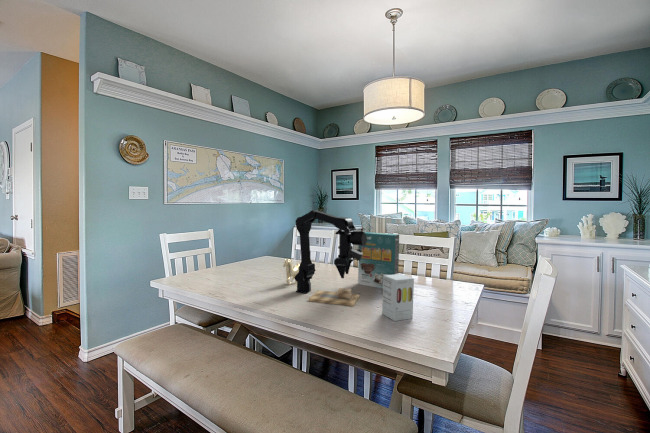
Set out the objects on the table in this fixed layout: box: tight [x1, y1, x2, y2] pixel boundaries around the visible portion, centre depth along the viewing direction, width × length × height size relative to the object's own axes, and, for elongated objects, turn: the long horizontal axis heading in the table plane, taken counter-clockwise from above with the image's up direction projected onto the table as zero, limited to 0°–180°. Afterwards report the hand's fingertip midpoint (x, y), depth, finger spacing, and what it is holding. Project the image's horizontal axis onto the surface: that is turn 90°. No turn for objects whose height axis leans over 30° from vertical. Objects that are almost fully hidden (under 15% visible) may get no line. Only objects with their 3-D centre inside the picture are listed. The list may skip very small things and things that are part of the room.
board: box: [307, 290, 360, 307], centre depth 151 cm, size 22×14×1 cm, turn 73°
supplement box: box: [381, 273, 415, 322], centre depth 129 cm, size 10×9×17 cm
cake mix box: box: [357, 231, 400, 289], centre depth 175 cm, size 22×6×30 cm, turn 58°
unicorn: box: [282, 259, 301, 286], centre depth 177 cm, size 20×4×17 cm, turn 156°
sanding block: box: [337, 287, 353, 300], centre depth 149 cm, size 6×4×4 cm, turn 73°
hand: (344, 276), depth 149 cm, fingers open, 9 cm apart
